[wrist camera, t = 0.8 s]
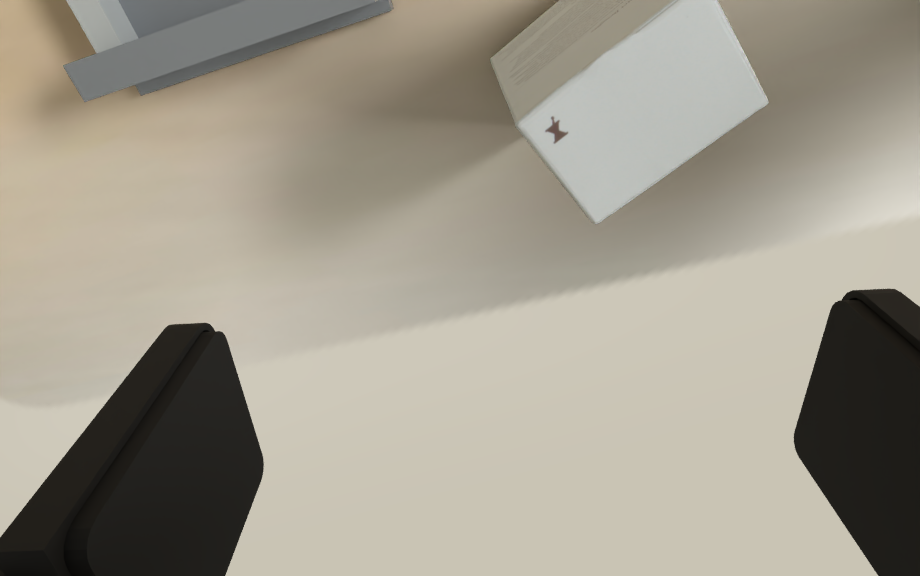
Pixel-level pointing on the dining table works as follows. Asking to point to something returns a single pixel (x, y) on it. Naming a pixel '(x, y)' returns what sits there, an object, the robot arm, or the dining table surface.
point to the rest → (194, 36)
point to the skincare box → (625, 92)
